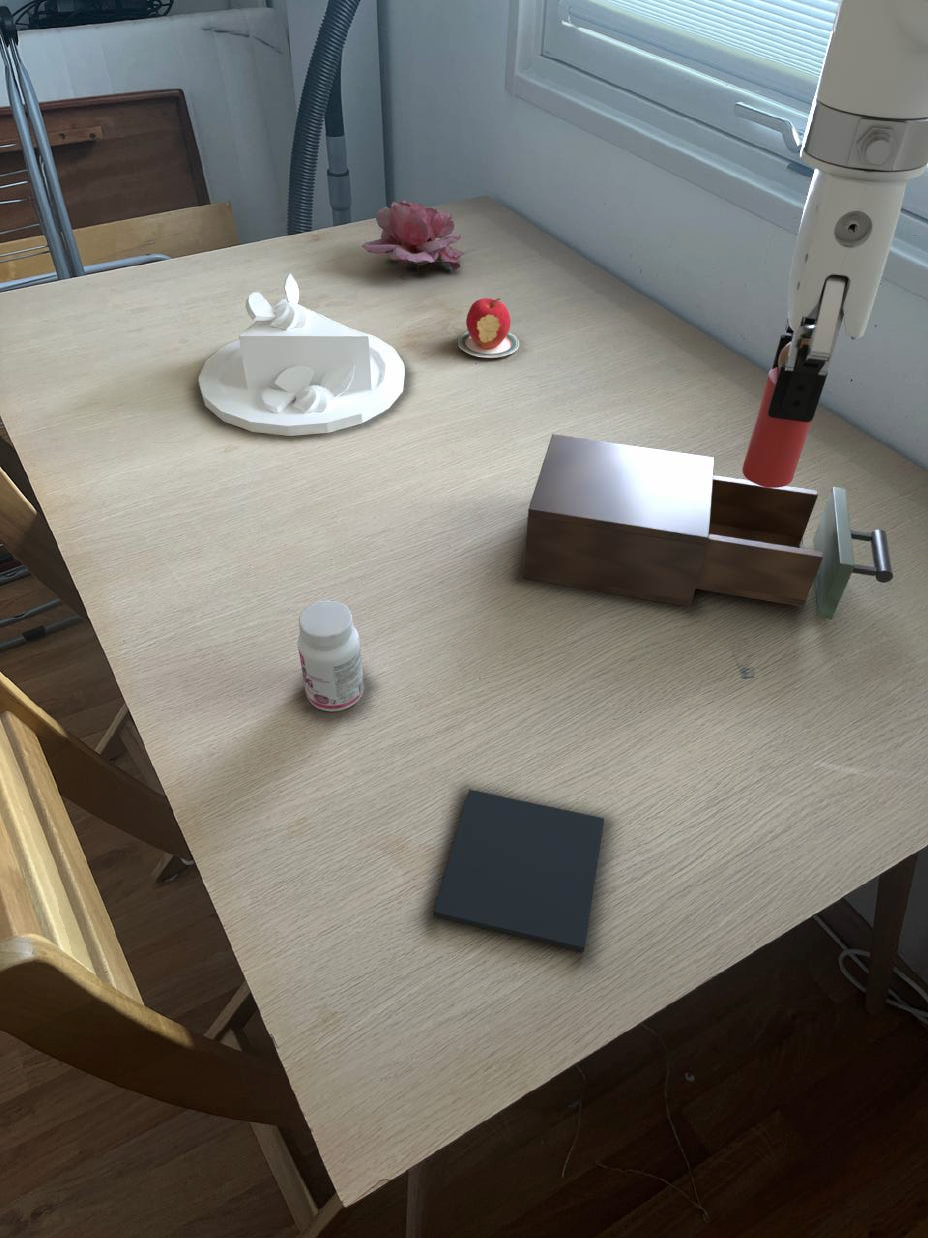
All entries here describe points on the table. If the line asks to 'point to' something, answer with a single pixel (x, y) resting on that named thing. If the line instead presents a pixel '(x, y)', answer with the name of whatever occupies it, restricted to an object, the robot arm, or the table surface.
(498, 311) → the apple
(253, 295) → the dish
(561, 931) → the coaster
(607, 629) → the table surface
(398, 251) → the flower
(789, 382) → the robot arm
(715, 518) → the drawer
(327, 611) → the pill bottle
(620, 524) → the cabinet
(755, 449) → the red cylinder
